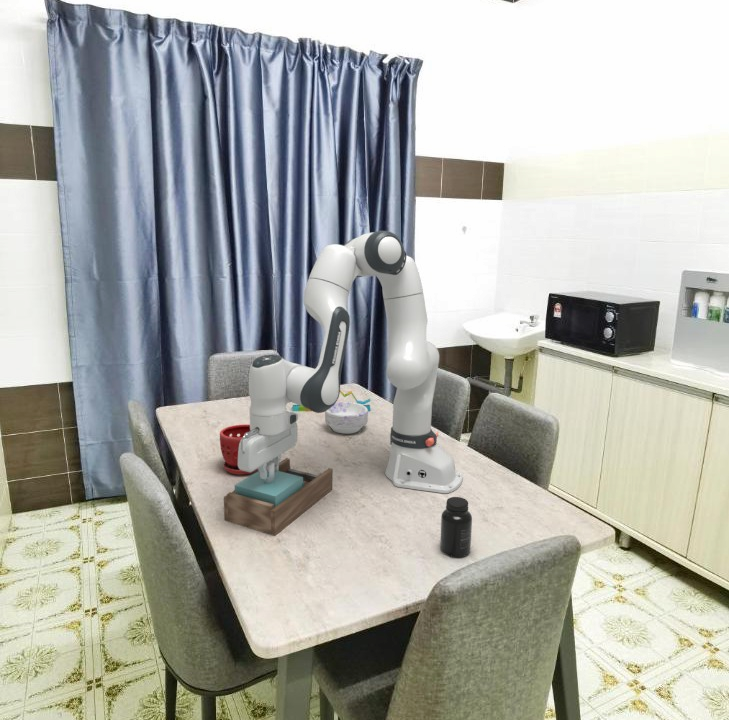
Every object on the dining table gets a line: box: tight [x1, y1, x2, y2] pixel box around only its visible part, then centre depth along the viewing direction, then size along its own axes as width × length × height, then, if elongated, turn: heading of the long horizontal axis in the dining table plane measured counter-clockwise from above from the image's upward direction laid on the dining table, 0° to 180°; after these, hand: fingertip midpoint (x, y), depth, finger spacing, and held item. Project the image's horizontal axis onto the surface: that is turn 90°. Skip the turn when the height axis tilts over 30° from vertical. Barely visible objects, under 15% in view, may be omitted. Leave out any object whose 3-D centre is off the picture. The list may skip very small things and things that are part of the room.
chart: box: [291, 389, 371, 412], centre depth 221 cm, size 30×3×15 cm, turn 94°
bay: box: [223, 457, 333, 537], centre depth 146 cm, size 15×27×7 cm, turn 154°
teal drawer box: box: [234, 460, 304, 508], centre depth 141 cm, size 12×12×12 cm
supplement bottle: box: [439, 496, 473, 558], centre depth 127 cm, size 7×7×12 cm
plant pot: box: [219, 424, 259, 476], centre depth 167 cm, size 13×13×12 cm
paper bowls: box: [324, 401, 369, 435], centre depth 201 cm, size 15×15×8 cm
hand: (269, 474), depth 140 cm, fingers closed on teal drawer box, 3 cm apart
